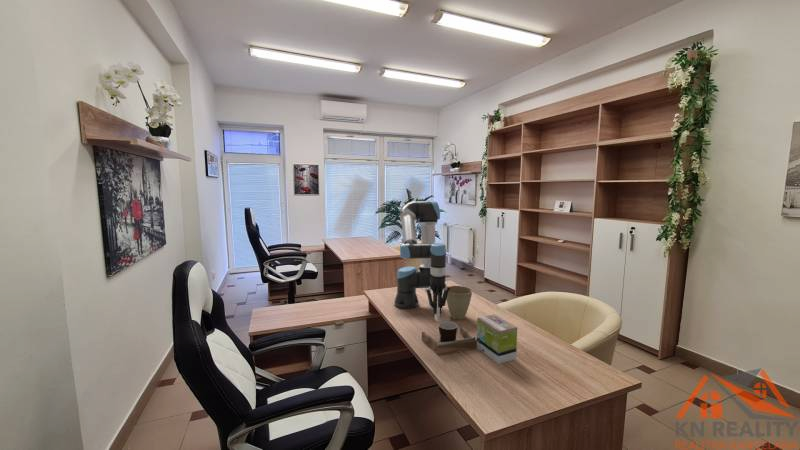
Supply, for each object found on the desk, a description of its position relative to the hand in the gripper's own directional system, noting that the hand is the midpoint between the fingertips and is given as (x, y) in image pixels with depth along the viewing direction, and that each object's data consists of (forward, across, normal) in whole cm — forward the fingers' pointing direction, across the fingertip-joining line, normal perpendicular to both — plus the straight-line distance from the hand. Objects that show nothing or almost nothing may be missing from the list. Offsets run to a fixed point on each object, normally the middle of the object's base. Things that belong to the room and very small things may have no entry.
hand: (437, 319), depth 160 cm
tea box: (+6, +15, -29) cm, 33 cm away
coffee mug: (+6, -1, -15) cm, 16 cm away
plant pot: (+7, +19, +12) cm, 23 cm away
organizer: (+6, 0, -14) cm, 15 cm away
